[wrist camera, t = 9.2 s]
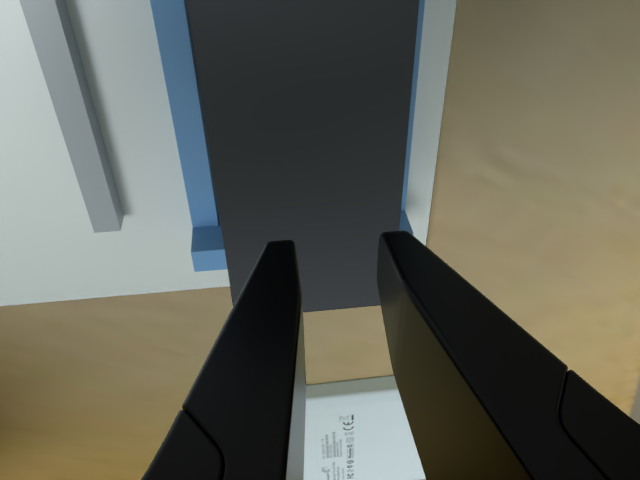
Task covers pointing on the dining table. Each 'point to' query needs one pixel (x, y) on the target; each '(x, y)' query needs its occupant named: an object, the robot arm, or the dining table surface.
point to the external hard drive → (358, 432)
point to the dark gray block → (307, 133)
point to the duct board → (139, 148)
